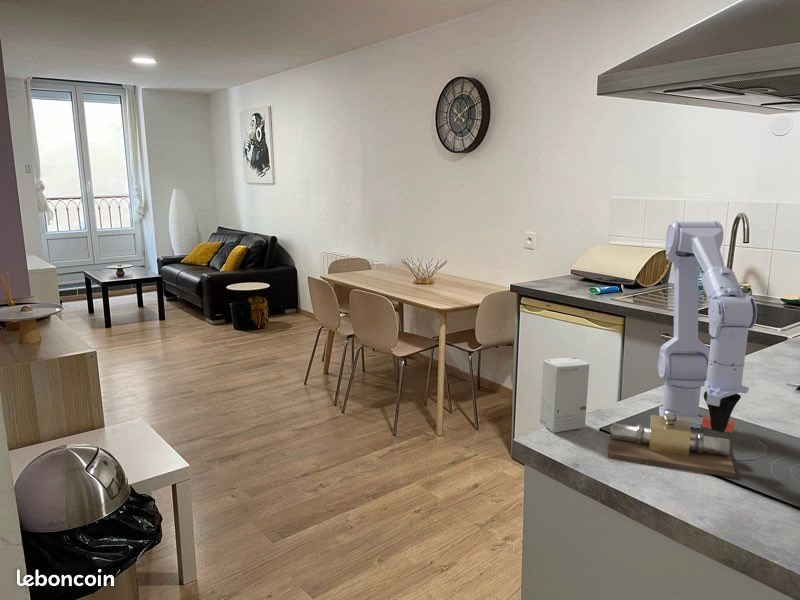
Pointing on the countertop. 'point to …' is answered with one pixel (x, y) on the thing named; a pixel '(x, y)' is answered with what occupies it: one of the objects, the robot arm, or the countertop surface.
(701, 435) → the valve housing
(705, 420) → the valve lever
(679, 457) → the base board
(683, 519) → the countertop surface
